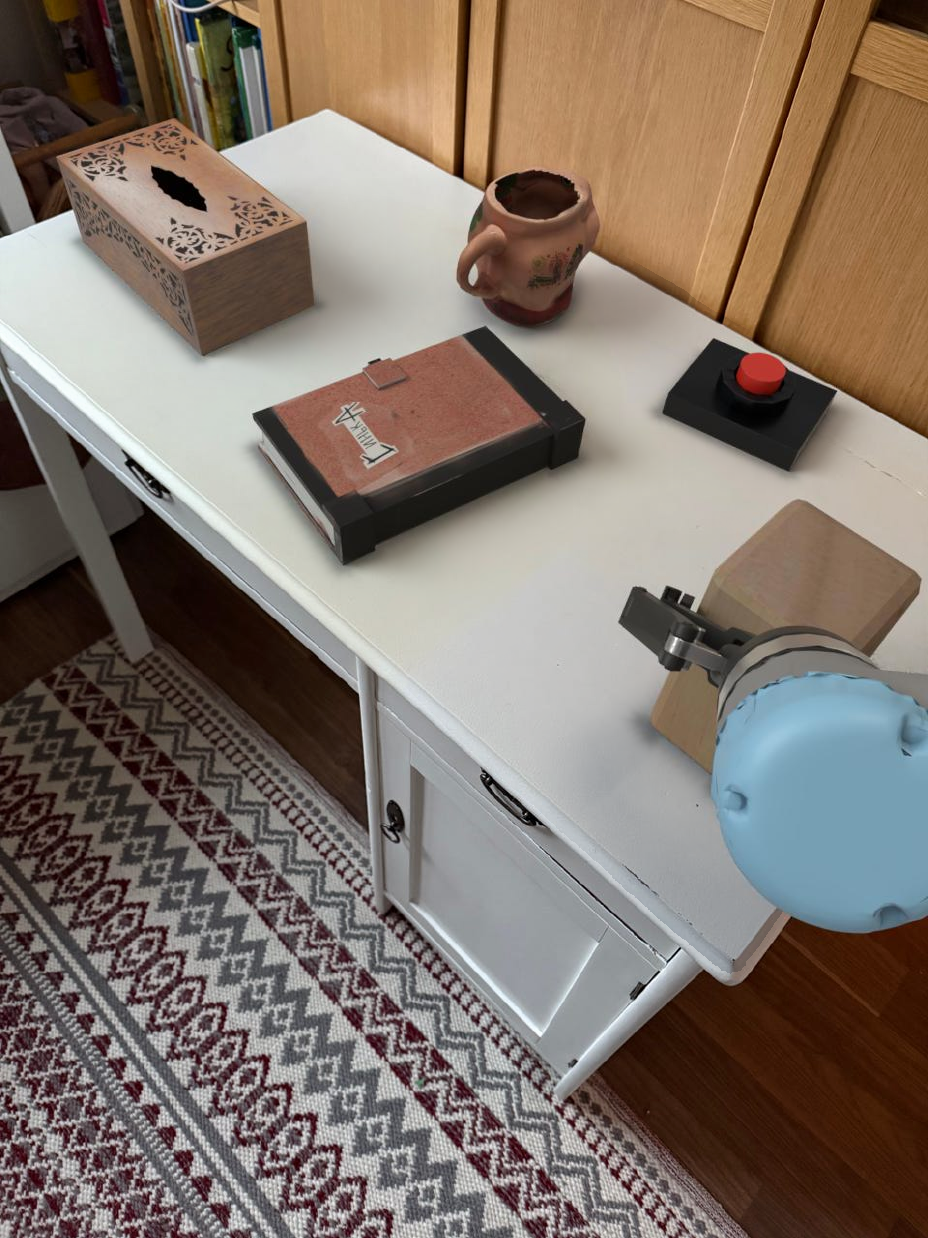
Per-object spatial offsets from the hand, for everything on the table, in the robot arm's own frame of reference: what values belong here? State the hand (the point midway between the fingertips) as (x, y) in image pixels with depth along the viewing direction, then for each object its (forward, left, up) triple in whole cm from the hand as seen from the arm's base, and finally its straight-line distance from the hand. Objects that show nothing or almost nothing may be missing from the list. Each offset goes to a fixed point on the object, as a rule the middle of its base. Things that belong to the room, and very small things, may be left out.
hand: (777, 652), depth 61 cm
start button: (+14, -37, -9) cm, 40 cm away
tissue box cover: (+75, -20, -13) cm, 79 cm away
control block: (+14, -37, -13) cm, 41 cm away
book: (+38, -12, -13) cm, 42 cm away
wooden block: (0, -1, -13) cm, 13 cm away
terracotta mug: (+42, -37, -13) cm, 57 cm away
